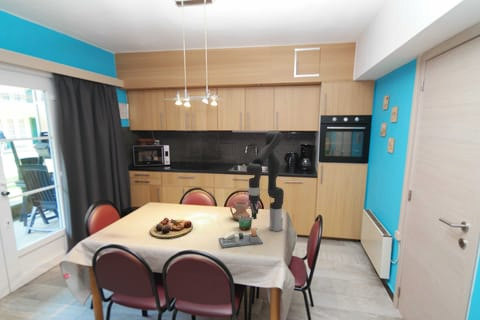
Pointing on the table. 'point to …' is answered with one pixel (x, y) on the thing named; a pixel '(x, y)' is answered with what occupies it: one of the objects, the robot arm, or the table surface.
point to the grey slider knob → (236, 238)
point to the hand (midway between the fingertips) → (254, 217)
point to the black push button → (240, 235)
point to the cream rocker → (229, 235)
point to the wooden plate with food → (171, 228)
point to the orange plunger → (253, 232)
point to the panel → (240, 241)
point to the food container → (245, 222)
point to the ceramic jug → (240, 209)
